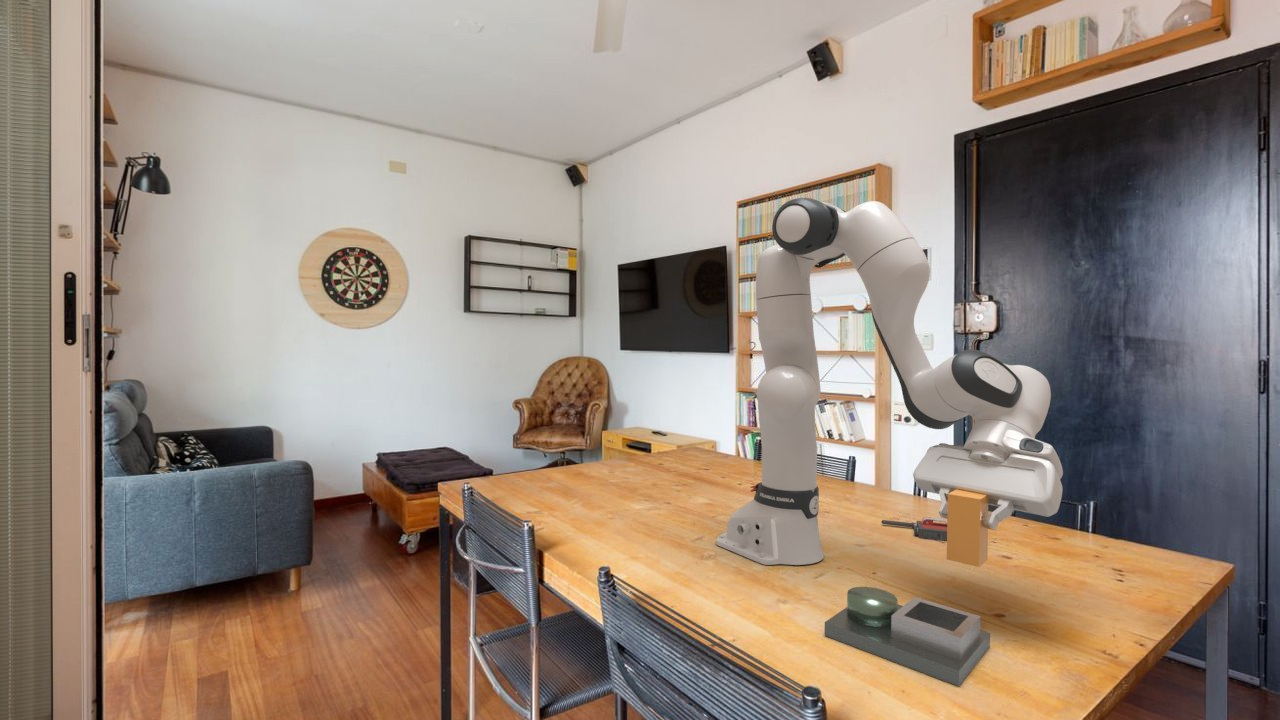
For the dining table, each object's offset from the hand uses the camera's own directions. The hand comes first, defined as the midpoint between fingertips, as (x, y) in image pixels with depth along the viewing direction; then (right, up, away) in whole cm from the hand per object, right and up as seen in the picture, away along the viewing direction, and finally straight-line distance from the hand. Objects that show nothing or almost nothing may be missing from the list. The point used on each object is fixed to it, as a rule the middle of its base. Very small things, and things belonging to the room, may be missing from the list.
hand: (965, 521), depth 87 cm
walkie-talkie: (+17, -16, +46) cm, 52 cm away
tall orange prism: (+1, -6, 0) cm, 6 cm away
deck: (-11, -16, -4) cm, 20 cm away
